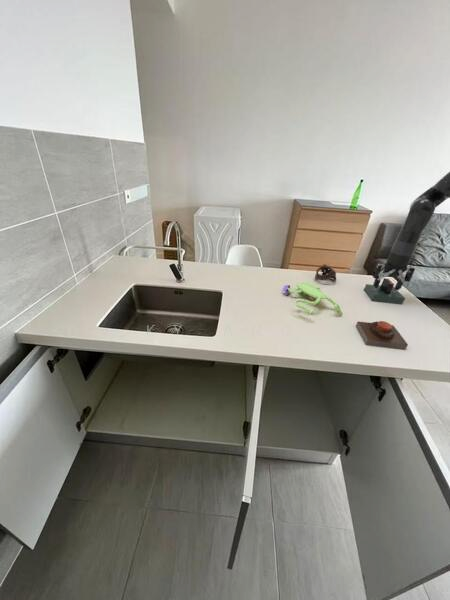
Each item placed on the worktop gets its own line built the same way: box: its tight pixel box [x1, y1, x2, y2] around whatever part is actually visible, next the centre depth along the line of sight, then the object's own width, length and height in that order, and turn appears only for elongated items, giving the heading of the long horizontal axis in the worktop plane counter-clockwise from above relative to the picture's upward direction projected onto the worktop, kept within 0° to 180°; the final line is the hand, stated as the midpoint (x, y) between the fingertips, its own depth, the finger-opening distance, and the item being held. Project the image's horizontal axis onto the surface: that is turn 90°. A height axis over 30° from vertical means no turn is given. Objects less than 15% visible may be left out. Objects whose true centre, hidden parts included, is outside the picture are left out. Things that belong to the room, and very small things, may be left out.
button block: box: [355, 320, 408, 351], centre depth 80 cm, size 12×10×4 cm
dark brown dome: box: [314, 264, 337, 283], centre depth 117 cm, size 12×10×8 cm
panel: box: [363, 283, 406, 305], centre depth 105 cm, size 12×10×3 cm
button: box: [376, 320, 392, 332], centre depth 79 cm, size 4×4×2 cm
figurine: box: [282, 281, 343, 316], centre depth 97 cm, size 18×27×6 cm
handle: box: [380, 277, 395, 294], centre depth 103 cm, size 6×2×5 cm, turn 172°
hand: (385, 288), depth 103 cm, fingers open, 8 cm apart
